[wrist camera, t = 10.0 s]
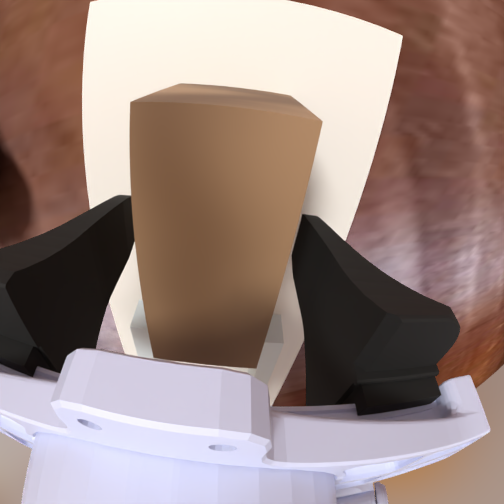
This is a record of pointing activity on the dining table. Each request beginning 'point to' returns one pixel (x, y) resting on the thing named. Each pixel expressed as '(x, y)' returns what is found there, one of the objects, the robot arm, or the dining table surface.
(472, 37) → the dining table surface
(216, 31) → the board
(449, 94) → the dining table surface
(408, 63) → the dining table surface
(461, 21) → the dining table surface
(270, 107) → the walnut block
